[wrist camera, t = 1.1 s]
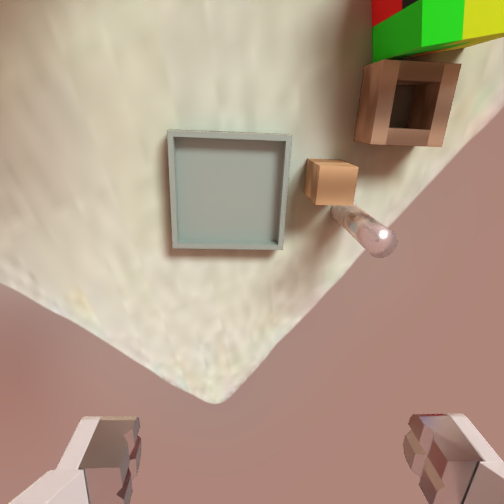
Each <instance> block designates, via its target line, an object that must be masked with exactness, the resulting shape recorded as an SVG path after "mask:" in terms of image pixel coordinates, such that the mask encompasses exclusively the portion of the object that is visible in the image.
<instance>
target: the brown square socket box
mask: <svg viewBox="0 0 504 504" xmlns="http://www.w3.org/2000/svg"><path fill="white" fill-rule="evenodd" d="M460 68H461V64H454V63H437V62H421V61H404V60H387V59H384V60H381V61H378V62H375V63H372V64H369V65H367V66H364V73H363V80H362V87H361V94H360V101H359V107H358V114H357V121H356V128H355V135H354V141H358V142H362V143H367V144H378V145H403V146H428V147H442V144H443V139H444V135H445V131H446V127H447V123H448V118H449V114H450V110H451V106H452V102H453V97H454V93H455V89H456V85H457V81H458V76H459V72H460ZM396 85H411V86H415V89H414V94H413V99H412V104H411V109H410V114H409V119H408V124H407V128H392V127H389V123H390V117H391V112H392V106H393V101H394V95H395V89H396Z"/></svg>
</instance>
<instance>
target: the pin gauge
mask: <svg viewBox="0 0 504 504" xmlns="http://www.w3.org/2000/svg"><path fill="white" fill-rule="evenodd" d="M331 214H332V216H333V218H334V219H335V220H336V221H337V222H338V223H339V224H340V225H341V226H342V227H343V228H344V229H346V230H347V231H348V232H349V233H350V234H351V235H352V236H353V237H354V238H355V239H356V240H357V241H358V242H359V243H360V244H361V245H362V246H363V247H364V248H365V249H366V250H367V251H368V252H369V253H370V254H371V255H372V256H374V257H377V258H383V257H386V256H388V255H390V254H391V253H392V252H393V251H394V250H395V248H396V246H397V237H396V235H395V233H394V232H393V231H391V230H390V229H388V228H387V227H386V226H384V225H383V224H381V223H380V222H379V221H377V220H376V219H374V218H373V217H372V216H370V215H369V214H367V213H366V212H365V211H363V210H362V209H360V208H359V207H358V206H356V205H355V204H353V206H342V205H332V207H331Z"/></svg>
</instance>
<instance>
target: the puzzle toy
mask: <svg viewBox="0 0 504 504" xmlns="http://www.w3.org/2000/svg"><path fill="white" fill-rule="evenodd" d="M501 37H504V0H372V41H373V63H375V62H378V61H381V60H384V59H387V60H397V59H403V58H408V57H414V56H420V55H425V54H431V53H437V52H442V51H448V50H454V49H460V48H465V47H469V46H472V45H476V44H479V43H483V42H487V41H490V40H494V39H497V38H501Z"/></svg>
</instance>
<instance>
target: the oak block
mask: <svg viewBox="0 0 504 504" xmlns="http://www.w3.org/2000/svg"><path fill="white" fill-rule="evenodd" d="M358 169H359V167H357V166H355V165H352V164H350V163H347V162H345V161H342V160H331V159H307V166H306V176H305V186H304V193H305V194H306V195H307V196H308V197H309V199H310V200H311V201H312V202H313V203H314V204H315V205H342V206H353V201H354V195H355V188H356V182H357V175H358Z"/></svg>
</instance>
